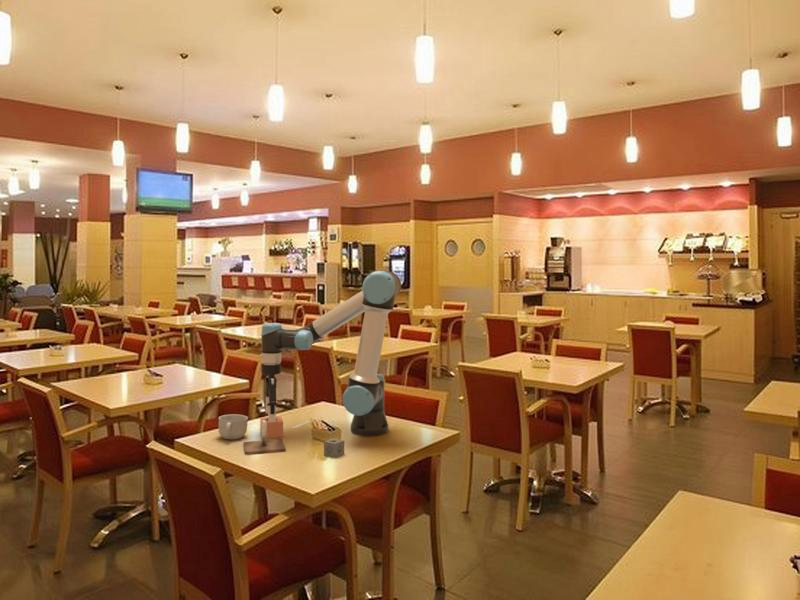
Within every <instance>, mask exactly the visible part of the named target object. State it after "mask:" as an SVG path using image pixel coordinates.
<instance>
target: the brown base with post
mask: <svg viewBox="0 0 800 600" xmlns="http://www.w3.org/2000/svg"><path fill="white" fill-rule="evenodd" d="M260 436H261V440H254V441H253V440H252V441H251V440H250V441H243V451H244V455H245V456H249V455H260V454H270V453H271V454H272V453H282V452H286V451H287V450H286V449H287V447H286V446H285V443H284V440H283V439H282V438H276V439H268V438H267V420H262V421H261V428H260Z"/></svg>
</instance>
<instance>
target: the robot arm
mask: <svg viewBox="0 0 800 600" xmlns="http://www.w3.org/2000/svg"><path fill="white" fill-rule="evenodd" d="M361 288H362V289H361V291H359V292H358V293H356V294H354V295H353V296H351V297H349V298H348V299H347V300H344V302H342V303H340V304H338V305H337V306H336V307H334V308H332V309H331V310H329V311H327V312H326V313H324V314H323V315H321V316H319V317H318V318H316V319H314V320H313V321H311V322H310V323H308V324H306V325H305V326H303V327H300V328H297V329H285V328H283V327H282V326H283V325H282V324H281V323H277V322H268V323H267V322H266V323H264V324H262V326H261V335H260V336H261V354H259V357H260V358H261V365H260V369H261V370H260V373H261V374H263V375H265V376H266V377H265V378H264V379H265V380H264V381H265V414H268V416H267V417H268V422H276V417H277V403H278V402H277V377H276V376H275V375H279V374H281V372H282V364H281V362H282V349H283V350H297V351H309V350H310V349H311V347H312V346H313V345H314V344H315V343H317V342H318V341H319V340H320V339H322V338H324V337H326V336H327V335H329V334H330V333H332V332H334V331H335V330H337V329H338V328H340V327H342V326H343V325H345V324H346V323H348V322H350V321H352V320H353V319H354V318H356V317H358V316H360V315H362V314H363V313H364V316H363V320H362V327H361V333H360V338H359V343H358V349H357V354H356V360H355V365H354V371H353V372H352V373H351V374H349V377H348V381H347V386H346V389H345V391H344V392H343V394H342V405H343V407H344V409H345V410H346V412H348V413H349V414H351V415H352V416H353V417H352V420H351V423H350V432H351V433H352V434H353V435H357V436H365V437H366V436H368V437H369V436H375V437H376V436H380V435H384V434H387V433H388V432H389V428H390V427H389V422H388V419H387V417H386V413H385V383H386V381H385V376H384V375H383V374H382V373H378V371H379V365H380V360H381V354H382V349H383V343H384V337H385V333H386V326H387V322H388V315H389V313H391V312H393V310H394V306H395V301H396V298H397V297H398V296H399V295H400V292H401V290H402V281H401V279H400V277H399V276H398V275H397V274H396V273H395V272H394V271H390V270H376V271H373V272H371V273H370V274H368V275H367V276H366V277H365V278H364V279H363V283H362V286H361Z"/></svg>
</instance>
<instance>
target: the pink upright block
mask: <svg viewBox="0 0 800 600" xmlns="http://www.w3.org/2000/svg"><path fill="white" fill-rule="evenodd" d="M262 420H267V439H273V438H284V420H283V417H282V416H276V422H268V416H266V417H260V424H259V425H260V429H261V421H262Z"/></svg>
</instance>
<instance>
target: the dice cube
mask: <svg viewBox="0 0 800 600" xmlns="http://www.w3.org/2000/svg"><path fill="white" fill-rule="evenodd" d="M343 455H345V440H344V439H340V438H335V437H332V438H330V439H327V440H324V441H323V456H326V457H328V458H329V457H330V458H332V459H333V458H334V459H337V458H338V457H341V456H343Z"/></svg>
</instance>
